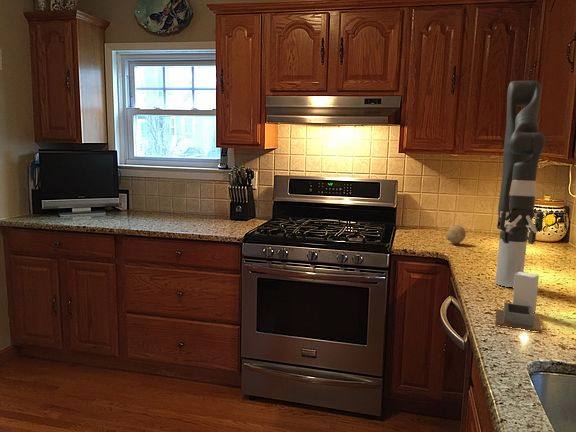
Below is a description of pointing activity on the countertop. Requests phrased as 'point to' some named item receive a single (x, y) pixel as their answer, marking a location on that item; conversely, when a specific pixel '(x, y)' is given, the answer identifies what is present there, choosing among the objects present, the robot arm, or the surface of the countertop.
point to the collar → (518, 317)
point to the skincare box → (525, 289)
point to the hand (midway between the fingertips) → (518, 243)
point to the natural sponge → (456, 234)
